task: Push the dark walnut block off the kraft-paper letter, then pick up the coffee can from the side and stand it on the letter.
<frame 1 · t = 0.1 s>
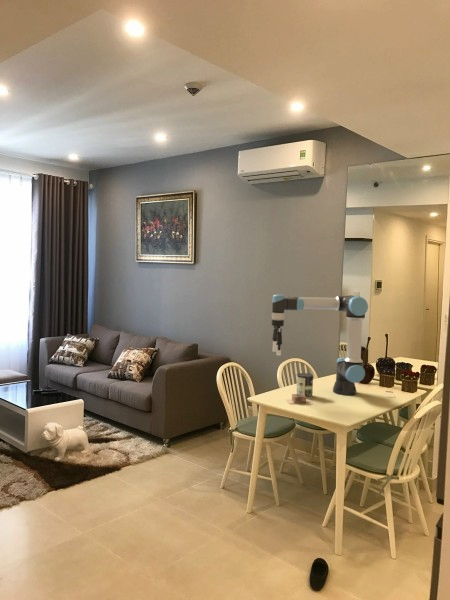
hand: (276, 353, 302), 28 cm above the table, tool pointing down, fingers open, 13 cm apart
coffee can: (304, 396, 307), on the table
letter: (300, 402, 293), on the table
walnut block: (298, 402, 293), resting on letter
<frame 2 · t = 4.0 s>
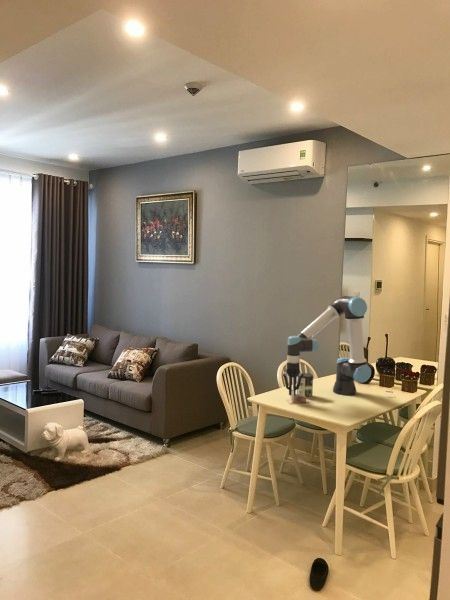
hand: (292, 400, 293), 1 cm above the table, tool pointing down, fingers closed
walnut block: (298, 402, 293), resting on letter, touching gripper
everything else where it was.
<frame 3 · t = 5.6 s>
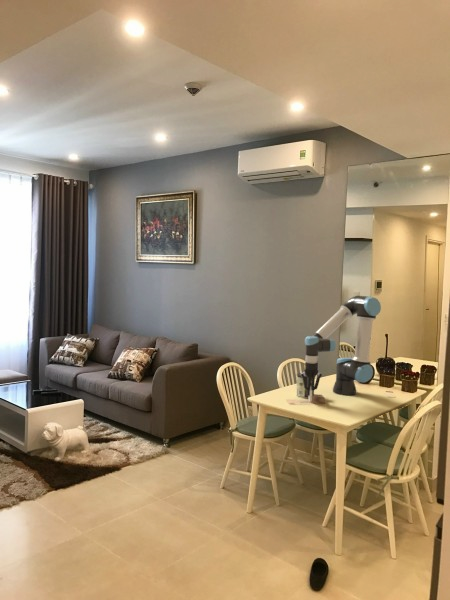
hand: (310, 400, 294), 1 cm above the table, tool pointing down, fingers closed
walnut block: (316, 402, 294), on the table, touching gripper
everything else where it was.
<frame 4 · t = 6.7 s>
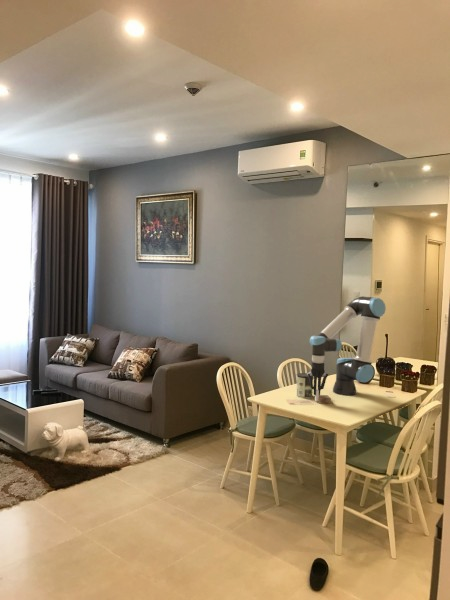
hand: (316, 400, 294), 1 cm above the table, tool pointing down, fingers closed
walnut block: (323, 403, 294), on the table
everything else where it was.
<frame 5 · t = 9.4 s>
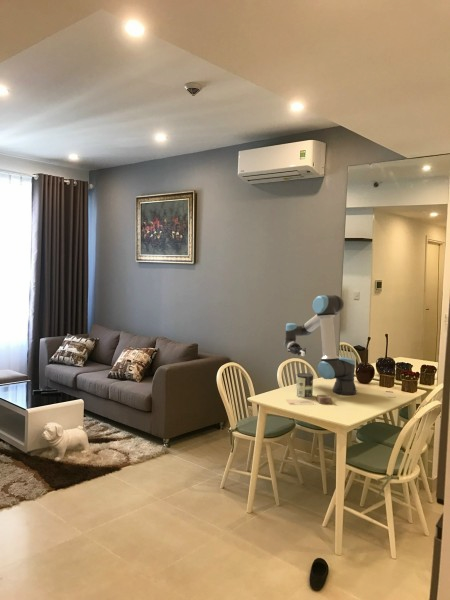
hand: (303, 354, 312), 26 cm above the table, tool horizontal, fingers closed
nothing on the table moved.
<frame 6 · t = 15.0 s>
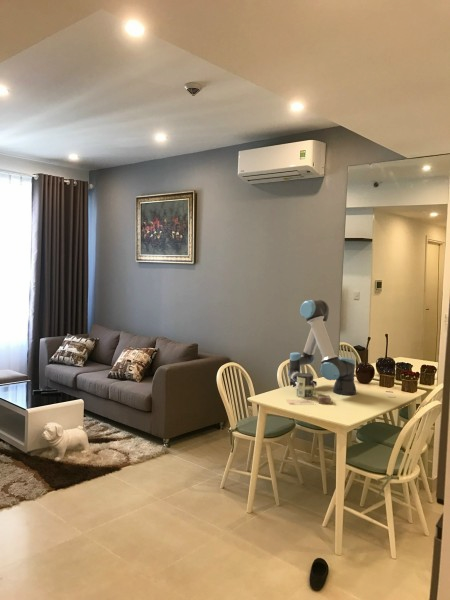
hand: (306, 386, 303), 8 cm above the table, tool horizontal, fingers closed on coffee can, 10 cm apart
coffee can: (304, 396, 307), on the table, touching gripper
everything else where it was.
when the fingers open (9 cm above the table, at t = 20.7 s): coffee can stays where it is, resting on letter.
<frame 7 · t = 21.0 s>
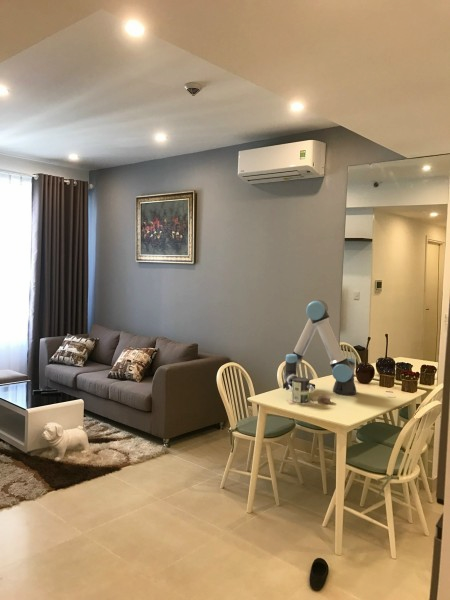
hand: (302, 389, 289), 9 cm above the table, tool horizontal, fingers open, 13 cm apart
coffee can: (300, 402, 293), resting on letter
everything else where it was.
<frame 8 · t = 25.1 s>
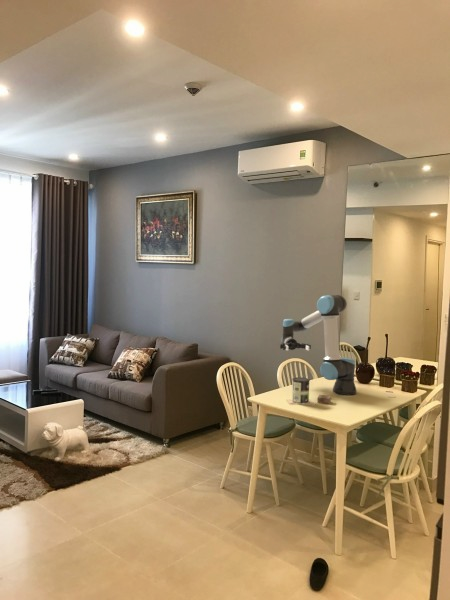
hand: (298, 348, 309), 30 cm above the table, tool horizontal, fingers open, 13 cm apart
at the end: coffee can inside the target area on the letter (0.1 cm from its centre), point 0.1 cm above the letter's base; coffee can tilted 0°; walnut block touching table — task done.
